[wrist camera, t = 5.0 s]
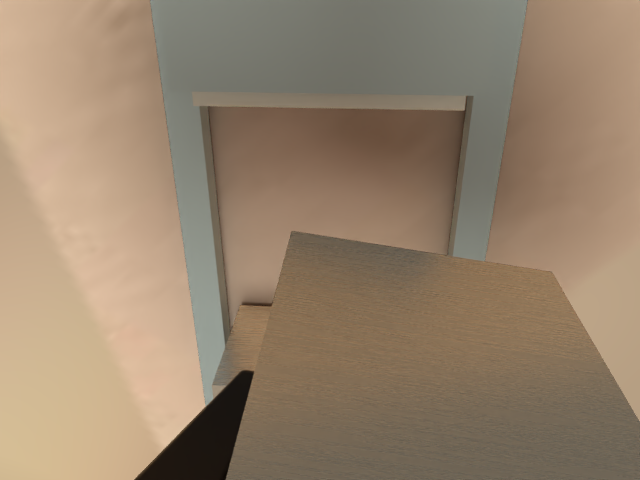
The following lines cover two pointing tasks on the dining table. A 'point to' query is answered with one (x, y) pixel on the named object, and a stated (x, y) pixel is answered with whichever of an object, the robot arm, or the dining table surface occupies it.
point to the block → (427, 374)
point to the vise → (329, 100)
